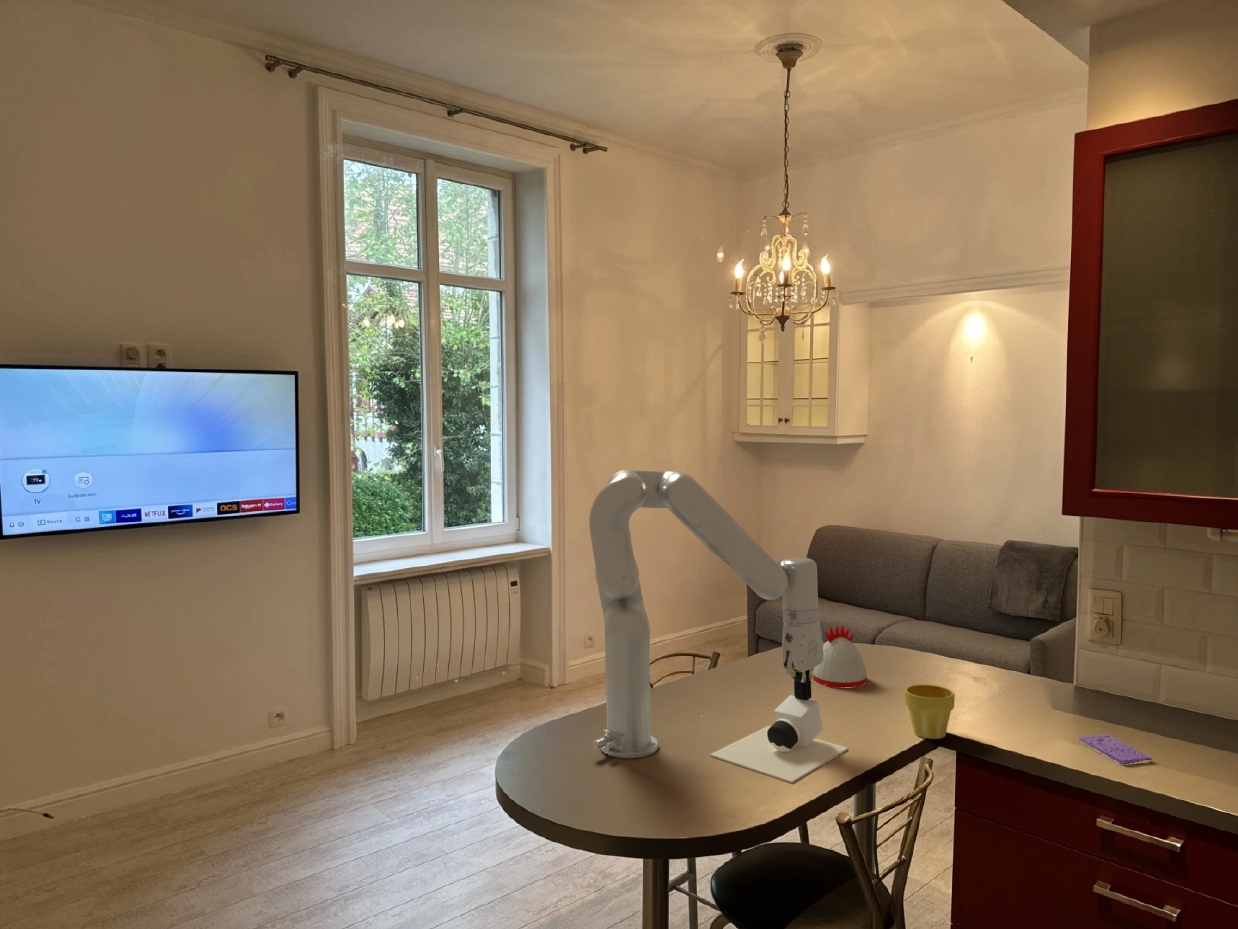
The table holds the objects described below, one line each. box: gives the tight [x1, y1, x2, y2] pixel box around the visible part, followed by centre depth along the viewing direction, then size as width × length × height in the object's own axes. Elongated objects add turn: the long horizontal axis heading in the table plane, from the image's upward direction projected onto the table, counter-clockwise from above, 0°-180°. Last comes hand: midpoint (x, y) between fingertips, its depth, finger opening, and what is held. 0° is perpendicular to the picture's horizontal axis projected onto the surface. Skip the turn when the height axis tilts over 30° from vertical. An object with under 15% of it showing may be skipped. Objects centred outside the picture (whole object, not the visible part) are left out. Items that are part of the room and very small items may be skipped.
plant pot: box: [904, 683, 955, 740], centre depth 188 cm, size 10×10×10 cm
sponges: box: [1078, 733, 1153, 765], centre depth 177 cm, size 7×13×2 cm, turn 10°
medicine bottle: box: [767, 694, 824, 752], centre depth 182 cm, size 7×7×12 cm
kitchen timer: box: [812, 624, 868, 689], centre depth 227 cm, size 14×14×15 cm
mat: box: [709, 725, 849, 784], centre depth 180 cm, size 22×20×1 cm
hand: (802, 698), depth 185 cm, fingers closed
